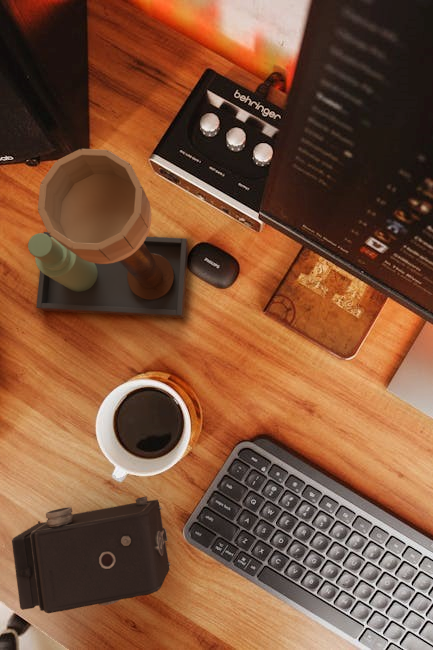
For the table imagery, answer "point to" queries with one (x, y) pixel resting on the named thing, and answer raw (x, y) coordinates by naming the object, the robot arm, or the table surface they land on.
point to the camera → (91, 557)
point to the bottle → (62, 263)
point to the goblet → (104, 217)
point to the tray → (121, 287)
